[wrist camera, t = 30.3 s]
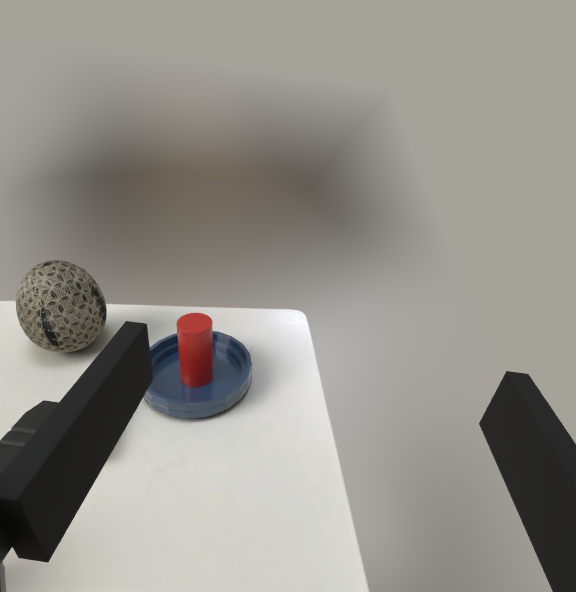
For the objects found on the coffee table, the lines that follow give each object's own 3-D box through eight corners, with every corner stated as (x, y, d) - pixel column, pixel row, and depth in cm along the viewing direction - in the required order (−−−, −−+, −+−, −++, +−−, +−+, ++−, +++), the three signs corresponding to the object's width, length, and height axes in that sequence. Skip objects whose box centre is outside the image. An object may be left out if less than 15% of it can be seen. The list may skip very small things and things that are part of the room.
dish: (257, 353, 64) (258, 336, 62) (238, 430, 50) (239, 412, 48) (165, 340, 64) (163, 324, 63) (120, 413, 50) (116, 395, 49)
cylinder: (216, 367, 59) (216, 315, 54) (208, 389, 55) (206, 334, 49) (186, 363, 59) (183, 310, 54) (176, 385, 55) (171, 330, 50)
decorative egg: (102, 367, 57) (83, 283, 50) (17, 371, 55) (-16, 283, 48) (118, 323, 67) (105, 247, 60) (47, 324, 65) (24, 245, 57)
